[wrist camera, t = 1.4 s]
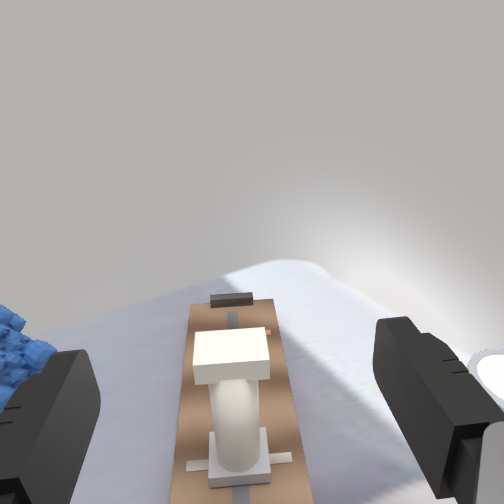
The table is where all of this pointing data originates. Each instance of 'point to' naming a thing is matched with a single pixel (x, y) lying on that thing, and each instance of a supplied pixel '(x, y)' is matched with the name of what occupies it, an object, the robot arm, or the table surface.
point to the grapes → (18, 355)
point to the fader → (234, 403)
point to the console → (270, 414)
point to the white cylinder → (489, 372)
